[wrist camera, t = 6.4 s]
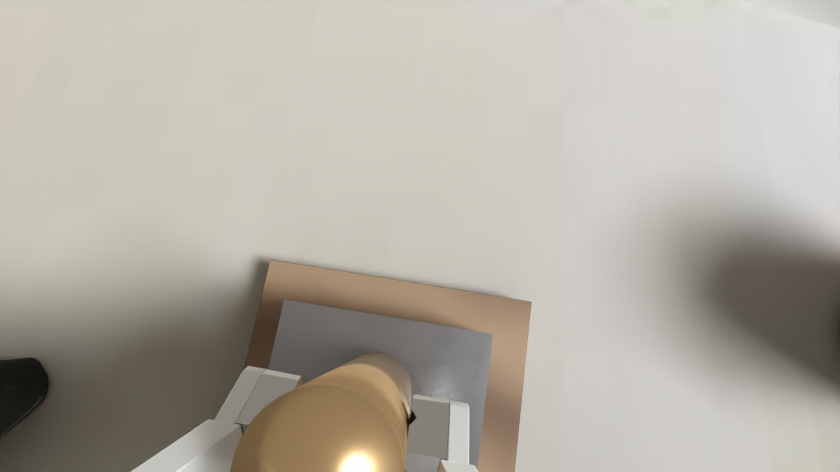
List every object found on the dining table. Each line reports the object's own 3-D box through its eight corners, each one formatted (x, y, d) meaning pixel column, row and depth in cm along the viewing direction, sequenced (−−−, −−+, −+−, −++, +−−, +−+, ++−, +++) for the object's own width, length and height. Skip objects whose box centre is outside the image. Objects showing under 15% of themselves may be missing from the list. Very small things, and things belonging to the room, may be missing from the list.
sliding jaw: (464, 459, 20) (562, 740, 6) (280, 428, 20) (0, 633, 7) (480, 332, 21) (590, 341, 8) (306, 304, 21) (118, 265, 8)
